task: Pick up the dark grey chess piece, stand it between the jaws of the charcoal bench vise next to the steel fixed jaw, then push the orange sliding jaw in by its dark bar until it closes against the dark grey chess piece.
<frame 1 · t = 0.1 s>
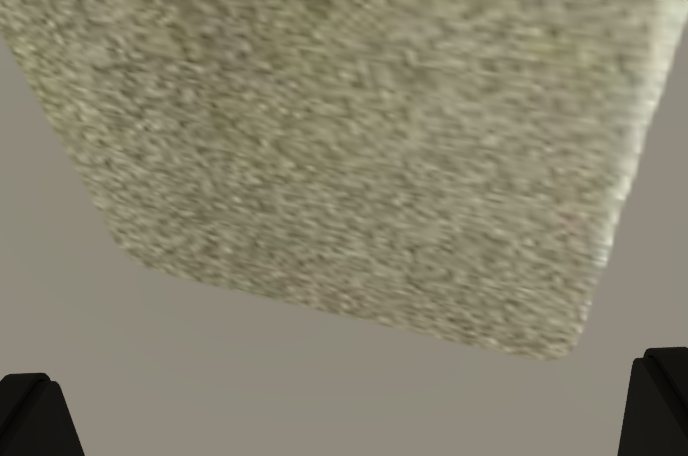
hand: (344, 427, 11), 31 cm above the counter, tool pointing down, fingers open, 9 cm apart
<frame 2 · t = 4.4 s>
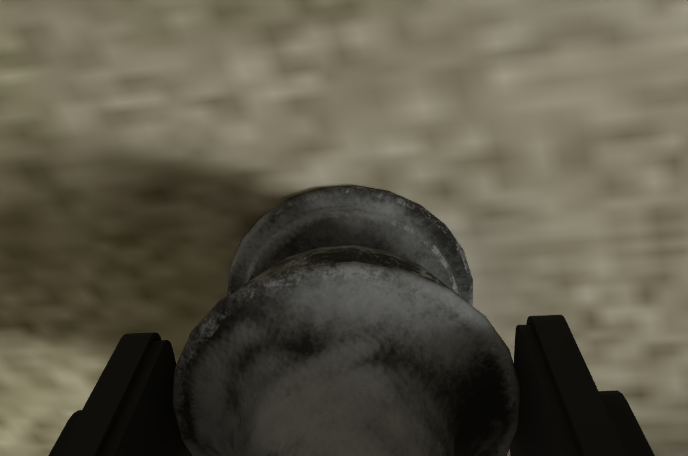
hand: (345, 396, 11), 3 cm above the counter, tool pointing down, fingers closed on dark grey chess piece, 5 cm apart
dark grey chess piece: (350, 292, 14), on the counter, touching gripper
when the fingers open (7 cm above the counter, at t = 11.3 s): dark grey chess piece drops 1 cm, resting on vise.
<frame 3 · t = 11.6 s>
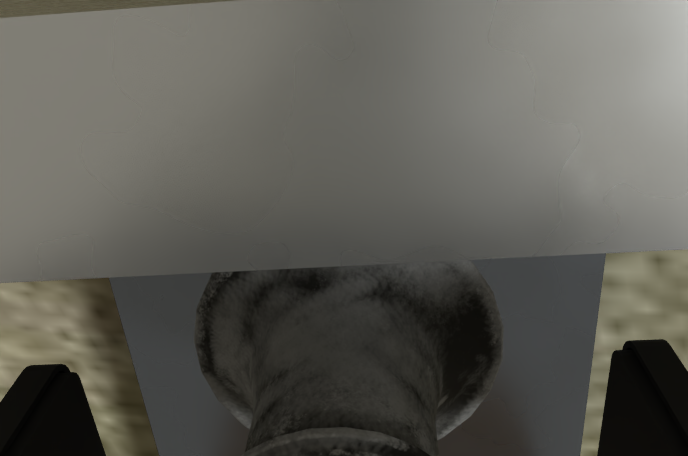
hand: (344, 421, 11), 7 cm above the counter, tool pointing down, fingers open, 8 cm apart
vise: (359, 314, 19), on the counter
dark grey chess piece: (353, 251, 16), point 2 cm above the counter, touching vise
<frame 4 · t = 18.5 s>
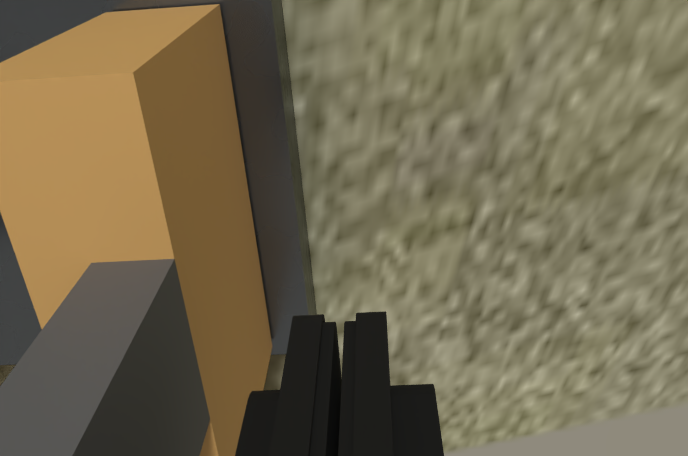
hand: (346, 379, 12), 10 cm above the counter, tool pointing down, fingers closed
vise: (3, 183, 22), on the counter
sliding jaw: (122, 344, 13), point 9 cm above the counter, slide at 0.8 cm, touching gripper
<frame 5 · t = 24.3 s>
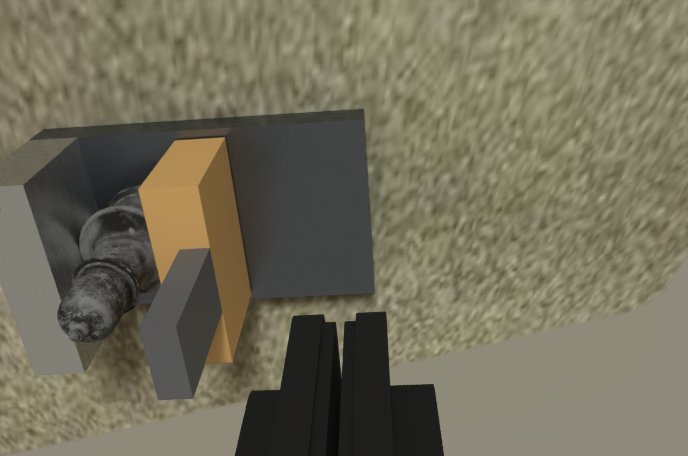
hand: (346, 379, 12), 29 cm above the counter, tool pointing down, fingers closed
vise: (217, 207, 43), on the counter
sliding jaw: (188, 281, 35), point 9 cm above the counter, slide at 7.7 cm, touching dark grey chess piece
dark grey chess piece: (148, 222, 41), point 2 cm above the counter, touching sliding jaw, vise
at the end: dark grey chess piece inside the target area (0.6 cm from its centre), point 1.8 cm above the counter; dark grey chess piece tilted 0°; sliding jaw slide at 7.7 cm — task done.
